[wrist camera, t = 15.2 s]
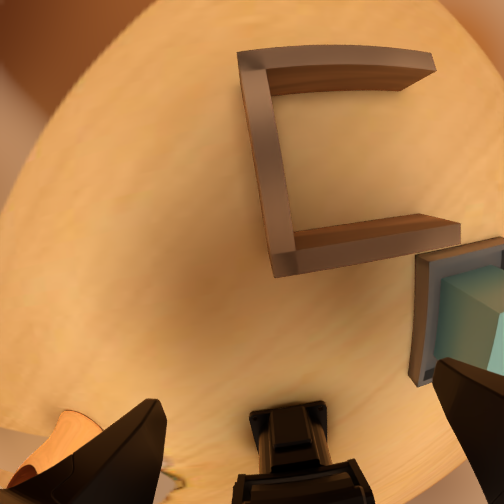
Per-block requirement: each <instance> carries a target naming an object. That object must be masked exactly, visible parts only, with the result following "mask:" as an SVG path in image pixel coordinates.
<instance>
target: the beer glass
mask: <svg viewBox="0 0 504 504" xmlns="http://www.w3.org/2000/svg"><path fill="white" fill-rule="evenodd" d="M101 432H103V431H102V429H101V428H100V427H99V426H98V425H97V424H96V423H95V422H93V421H92V420H91V419H89V418H88V417H86V416H84V415H82V414H80V413H78V412H74V411H64V412H62V413H61V415H60V417H59V419H58V422H57V424H56V427H55V429H54V431H53V433H52V434H51V436H50V437H49V438H48V439H47V440H46V441H45V443H43V445H41V446H40V447H39V448H38V449H37V450H36V451H35V452H33V453H32V454H31V455H30V456H29V457H28V458H27V459H26V460H25V461H24V462H23V463H22V465H20V466H19V468H18V469H17V470H16V472H15V473H14V474H13V476H12V478H11V479H10V481H9V483H8V485H7V487H6V489H7V488H11V487H13V486H16V485H18V484H20V483H22V482H24V481H26V480H28V479H30V478H32V477H34V476H36V475H38V474H40V473H42V472H43V471H45V470H47V469H49V468H50V467H52V466H54V465H55V464H57V463H58V462H60V461H62V460H63V459H65V458H66V457H67V456H69V455H70V454H73V452H75V451H76V450H78V449H79V448H80V447H82V446H83V445H85V444H86V443H87V442H89V441H90V440H92V439H93V438H94V437H96V436H97V435H98V434H100V433H101Z"/></svg>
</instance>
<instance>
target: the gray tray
mask: <svg viewBox="0 0 504 504" xmlns="http://www.w3.org/2000/svg"><path fill="white" fill-rule="evenodd" d="M415 263H416V273H415V308H414V324H413V336H412V347H411V356H410V364H409V371H408V376H409V377H410V378H411V380H412V381H413V382H414V384H415V385H416V387H417V388H418V387H420V386H423V385H426V384H429V383H431V382H432V379H433V374H434V370H435V366H436V363H437V361H438V360H437V359H436V358H435V356H434V355H433V354H434V348H435V341H436V333H437V325H438V316H439V304H440V290H441V279H442V278H445V277H449V276H453V275H457V274H460V273H464V272H468V271H471V270H475V269H478V268H482V267H485V266H488V265H493V266H495V267H498V268H500V269H502V270H504V238H503V237H496V238H492V239H487V240H483V241H479V242H474V243H470V244H465V245H461V246H456V247H451V248H447V249H442V250H437V251H432V252H428V253H423V254H418V255H415Z"/></svg>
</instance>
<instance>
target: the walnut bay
mask: <svg viewBox="0 0 504 504" xmlns="http://www.w3.org/2000/svg"><path fill="white" fill-rule="evenodd" d="M237 59H238V67H239V76H240V84H241V90H242V95H243V101H244V107H245V112H246V118H247V124H248V130H249V136H250V141H251V147H252V153H253V159H254V165H255V171H256V177H257V183H258V189H259V195H260V202H261V208H262V214H263V220H264V227H265V233H266V239H267V246H268V252H269V257H270V261H271V266H272V270H273V274H274V278H279V277H286V276H292V275H298V274H304V273H310V272H315V271H321V270H327V269H333V268H338V267H344V266H350V265H355V264H361V263H366V262H372V261H377V260H382V259H387V258H393V257H398V256H403V255H408V254H413V253H418V252H423V251H428V250H433V249H438V248H443V247H447V246H452V245H457V244H461V223H457V222H453V221H449V220H445V219H440V218H436V217H432V216H428V215H423V214H413V215H406V216H399V217H392V218H385V219H378V220H371V221H364V222H357V223H351V224H344V225H337V226H331V227H324V228H318V229H311V230H305V231H298V232H293V227H292V220H291V213H290V206H289V199H288V193H287V186H286V180H285V174H284V168H283V162H282V156H281V150H280V144H279V138H278V132H277V127H276V121H275V116H274V111H273V105H272V100H271V96H276V95H285V94H295V93H307V92H322V91H346V90H386V91H401V90H403V89H405V88H406V87H408V86H410V85H412V84H414V83H415V82H417V81H419V80H421V79H423V78H424V77H426V76H428V75H430V74H432V73H434V72H436V71H437V70H436V67H435V64H434V60H433V57H432V54H431V53H428V52H421V51H415V50H407V49H399V48H389V47H378V46H361V45H304V46H287V47H275V48H265V49H256V50H249V51H241V52H237Z"/></svg>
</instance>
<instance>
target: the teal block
mask: <svg viewBox="0 0 504 504" xmlns="http://www.w3.org/2000/svg"><path fill="white" fill-rule="evenodd" d="M433 355H434V356H435V358H436V359H437V360H439V359H442V358H445V357H450V358H453V359H455V360H458V361H461V362H464V363H467V364H470V365H473V366H476V367H479V368H482V369H485V370H488V371H491V372H494V373H497V374H500V375H503V376H504V270H502V269H500V268H498V267H495V266H493V265H488V266H485V267H482V268H478V269H475V270H471V271H468V272H464V273H460V274H457V275H453V276H449V277H445V278H442V279H441V290H440V304H439V316H438V325H437V333H436V341H435V348H434V354H433Z"/></svg>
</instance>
